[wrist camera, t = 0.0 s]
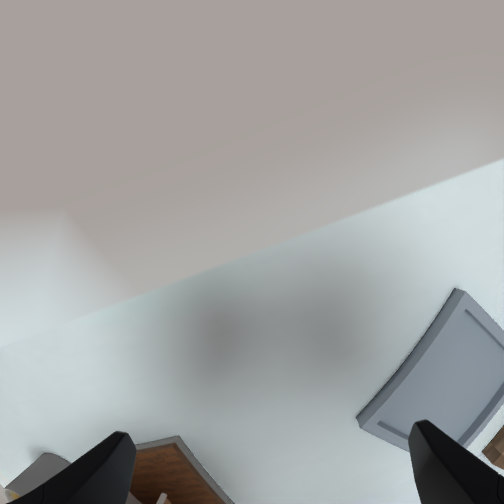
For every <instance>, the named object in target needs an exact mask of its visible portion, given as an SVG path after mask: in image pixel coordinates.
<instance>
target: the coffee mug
mask: <svg viewBox="0 0 504 504" xmlns="http://www.w3.org/2000/svg"><path fill="white" fill-rule="evenodd" d="M70 464H71V463H69V462H68V461H66V460H65V459H63V458H61V457H60V456H57V455H55V454H52V453H44V454H43V455H42V456H40V457H39V458H38V459H37V460H36V461H35V462H34V463H32V464H31V465H30V466H29V467H28V468H27V469H26V470H24V471H23V472H22V473H21V474H20V475H19V476H18V477H16V478H15V479H14V480H13V481H12V482H11V483H10V484H8V485H7V486H6V487H5V488H4V490H3V493H4V495H5V497H6V499H7V501H8V502H11V501H13V500H15V499H17V498H19V497H21V496H23V495H25V494H27V493H28V492H30V491H32V490H33V489H35V488H36V487H38V486H39V485H41V484H42V483H45V482H46V481H47V480H49V479H50V478H51V477H53V476H54V475H56V474H57V473H59V472H60V471H62V470H63V469H64V468H66V467H67V466H69V465H70Z"/></svg>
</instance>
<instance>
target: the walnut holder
mask: <svg viewBox="0 0 504 504" xmlns="http://www.w3.org/2000/svg"><path fill="white" fill-rule="evenodd" d="M482 452H483V454H484V455H485V456H486V457H487V458H488V460H489V461H490V462H491V463H492V464H493V465H495V466H497V467H499V468H502V469H504V426H503V427H502V428H501V430H500V431H499V432H498V433H497V434H496V436H495V437H494V438H493V439H492V440H491V442H490V443H489V444H488V445H487V446H486V447H485V449H484V450H483V451H482Z"/></svg>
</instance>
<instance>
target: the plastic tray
mask: <svg viewBox="0 0 504 504" xmlns="http://www.w3.org/2000/svg"><path fill="white" fill-rule="evenodd" d="M503 403H504V331H503V330H502V329H501V327H500V326H499V325H498V324H497V323H496V322H495V321H494V320H493V319H492V318H491V317H490V316H489V315H488V314H487V313H486V312H485V311H484V309H483V308H482V307H481V306H480V305H479V304H478V303H477V302H476V301H475V300H474V299H473V298H472V297H471V296H470V295H469V294H468V293H467V292H466V291H463V290H459V289H456V288H454V290H453V292H452V293H451V295H450V297H449V298H448V300H447V302H446V303H445V305H444V306H443V308H442V309H441V311H440V313H439V314H438V316H437V317H436V319H435V320H434V322H433V323H432V325H431V326H430V327H429V329H428V330H427V332H426V333H425V335H424V336H423V337H422V339H421V340H420V342H419V343H418V344H417V346H416V347H415V348H414V350H413V351H412V352H411V354H410V355H409V356H408V358H407V359H406V360H405V362H404V363H403V364H402V365H401V367H400V368H399V369H398V370H397V372H396V373H395V374H394V375H393V377H392V378H391V379H390V380H389V381H388V383H387V384H386V385H385V386H384V387H383V388H382V390H381V391H380V392H379V393H378V394H377V395H376V396H375V398H374V399H373V400H372V401H371V402H370V403H369V404H368V405H367V406H366V407H365V409H364V410H363V411H362V412H361V413H360V414H359V415H358V416H357V417H356V418H357V421H358V423H359V426H360V428H361V429H363V430H365V431H367V432H369V433H371V434H373V435H375V436H376V437H378V438H380V439H382V440H385V441H387V442H389V443H391V444H393V445H395V446H397V447H399V448H401V449H403V450H405V451H408V452H410V450H409V445H408V437H409V434H410V432H411V429H412V426H413V424H414V423H415V422H416V421H419V420H423V419H427V420H429V421H430V422H431V423H433V424H434V425H435V426H437V427H438V428H439V429H441V430H442V431H443V432H444V433H446V434H447V435H448V436H450V437H451V438H452V439H454V440H455V441H456V442H458V443H459V444H460V445H461V446H463V447H464V448H465V449H466V448H467V447H468V446H469V445H470V444H471V443H472V442H473V441H474V439H475V438H476V437H477V436H478V435H479V434H480V432H481V431H482V430H483V429H484V428H485V426H486V425H487V424H488V423H489V421H490V420H491V419H492V418H493V416H494V415H495V414H496V413H497V411H498V410H499V409H500V407H501V406H502V405H503Z"/></svg>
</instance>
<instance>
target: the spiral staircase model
mask: <svg viewBox="0 0 504 504" xmlns="http://www.w3.org/2000/svg"><path fill="white" fill-rule="evenodd" d="M135 446H136V449H137V454H136V459H135V464H134V470H133V475H132V481H131V486H130V490H129V494H128V497H127V500H126V503H125V504H234V503H233V502H232V501H231V500H230V499H229V497H228V496H227V495H226V494H225V493H224V492H223V491H222V490H221V488H220V487H219V486H218V485H217V484H216V483H215V481H214V480H213V479H212V478H211V477H210V475H209V474H208V473H207V472H206V471H205V469H204V468H203V467H202V466H201V464H200V463H199V462H198V460H197V459H196V458H195V457H194V455H193V454H192V453H191V451H190V450H189V449H188V447H187V446H186V445H185V443H184V442H183V441H182V439H181V438H180V437H179V436H175V437H171V438H166V439H162V440H157V441H153V442H148V443H143V444H137V445H135Z"/></svg>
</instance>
